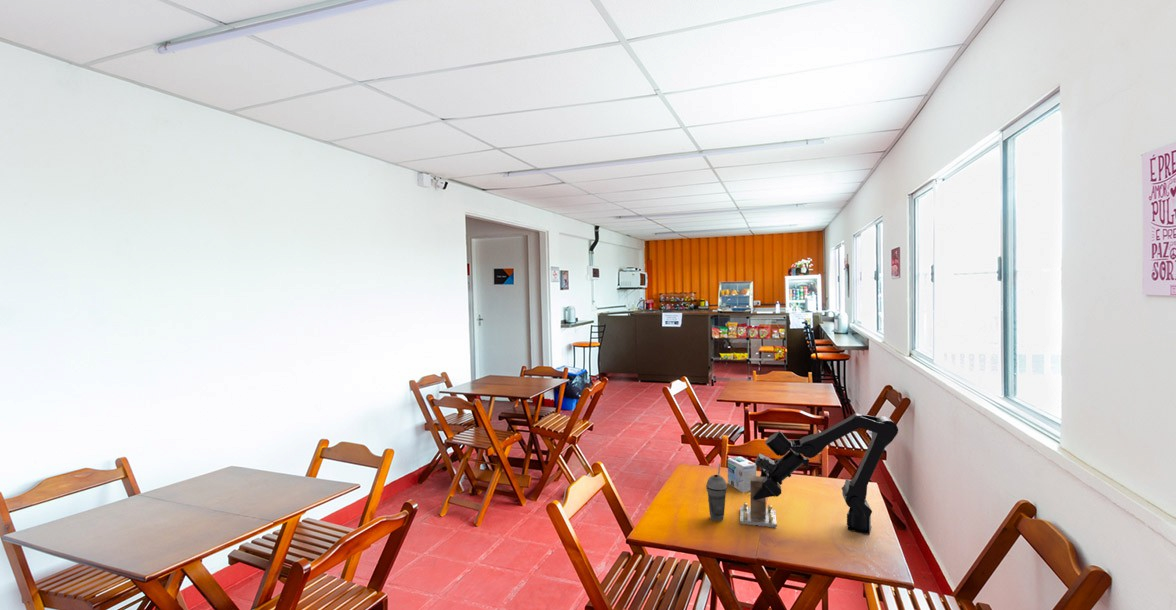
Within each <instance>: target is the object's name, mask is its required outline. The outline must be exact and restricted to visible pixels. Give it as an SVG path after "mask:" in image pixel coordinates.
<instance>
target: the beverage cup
mask: <svg viewBox="0 0 1176 610" xmlns="http://www.w3.org/2000/svg"><path fill="white" fill-rule="evenodd" d="M720 472H721V463H718V471H717V474H713V475H711V476H709V477H708V479H707V481H706V492H707V498H708V500H707V501H708V509H709V517H710V518H711V519H710V518H709V519H710V520H711V521H712V520H713V521H712V522H716V521H720V522H723V521H724V517H725V509H726V508H725V507H726V495H727V491H728V485H727V484H728V483H727V482H726V480H725V478H724V477H723V476H721V475H720ZM722 520H723V521H722Z"/></svg>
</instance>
